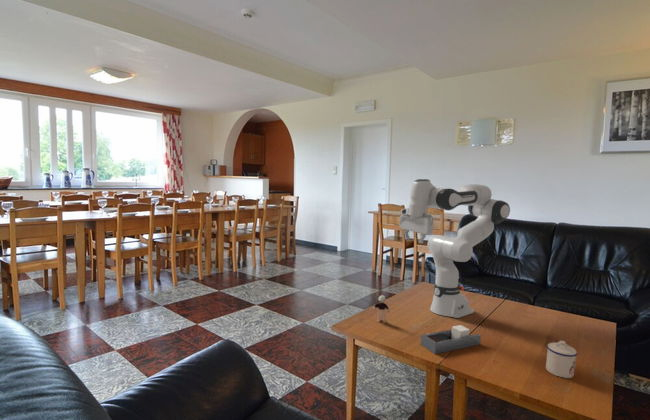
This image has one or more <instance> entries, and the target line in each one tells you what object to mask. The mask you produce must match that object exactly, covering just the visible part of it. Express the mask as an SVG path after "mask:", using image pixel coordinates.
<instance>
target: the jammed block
mask: <svg viewBox="0 0 650 420" xmlns="http://www.w3.org/2000/svg"><path fill="white" fill-rule="evenodd" d="M465 327H466V326H464V325H462V324H459V325H454V326H451V329H452V331H451V338H452V339H454V338H460V337H465V336H470V332H471V331H470V329H469V328H468V327H466V328H465Z"/></svg>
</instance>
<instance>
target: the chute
mask: <svg viewBox="0 0 650 420" xmlns="http://www.w3.org/2000/svg"><path fill="white" fill-rule="evenodd" d="M464 327H465V328H467V327H466V326H464ZM451 331H452V328H451V329H447V330H441V331H435V332H430V333H425V334H421V335H420V345H421V346H422V347H424V348H425V349H427V350H428V351H429V352H431V353H432V354H434V355H437V354H442V353H447V352H452V351H456V350H461V349H465V348H471V347H475V346H479V344H481V336H482V335H481V334H479V333H477V334H476V333H475V334H469V336H465V337H460V338H454V339H452V338H451Z"/></svg>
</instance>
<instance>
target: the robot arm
mask: <svg viewBox="0 0 650 420" xmlns="http://www.w3.org/2000/svg"><path fill="white" fill-rule="evenodd" d="M458 206H467V210H468V213H469V214H470V215H471V216H473V217H474V218H476V219H475V220H473V221H470V222H469V223H467V224H466V225H464V226H463V227H460V228H459V229H458V230H457V233H456V236H454V237H451V236H447V235H441V234H439V235H438V234H437V235H433V232H434V217H433V216H432V214H428V208H433V209H439V210H445V211H452V210H454V209H456V208H457V207H458ZM510 212H511V207H510V204H509V203H508V202H506V201H504V200H498V199H494V198H492V190H491V188H490V187H489V186H487V185H485V184H484V185H483V184H478V183H477V184H473V183H472V184H466V185H462V186H460V187H459V188H458V190H455V189H453V188H443V187H442V188H440V187H436V186H435V185H433V184H432V182H431V179H429V178H427V179H425V178H424V179H419V178H418V179H416V180H414V181H413V183H412V185H411V189H410V202H409V204H408V207H405V208H403V209H401V210H400V214H401V215H400V216H399V223H398V228H399V229H401V230H403V234H404V239H405V240H408V241H409V240H410V237H411V236H410V235H409V232H413V233H418V234H420V237H419V238H418V239H417V242H418V244H423V243H424V240H425V239H426V236H431V237H429V239H428V241H427V243H426V244H427V249H428V251H429V252H430V254H431V256H432V259H433V261H434V265H435V279H434V280H435V282H434V284H433V285H434V286H433V291H434V292H433V297H432V302H431V306H430V309H429V310H430V311H431V312H432V313H434V314H436V315H439V316H443V317H444V316H445V317H452V318H455V319H459V318H462V317H465V316H469V315H471V314H474V313H475V311H474V309H473V308H471V307H470V302H469V299H468V297H466V296H464V295H463V294H462V293H461V291H464V290H465V287H464V286H462V285H459V273H460V272H459V270H458V268H457V267H456V265H455V264H454V262H459V263H460V262H461V263H465V262H468V261H469V260H471V258H472V256H473V253H474V252H473V249H474V247H475V246H477V244H478V245H479V243H481V242H482V241H484V240H486V238H488V237H489V236H490V235H492V233H493V232H494V229H495V225H501V223H502V222H504V221H505V220H506V219H507V218H508V217H509V215H510Z"/></svg>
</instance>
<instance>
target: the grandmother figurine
mask: <svg viewBox="0 0 650 420" xmlns="http://www.w3.org/2000/svg"><path fill="white" fill-rule="evenodd" d="M377 300H378V301H379V302H377V303H375V305H374V306H373V308H372V309H373V310H374V311H375V310H376V309H377V323H381V324H382V323H383V324H385V323H388V322H387V315H386V311H387V313H390V308H389V306H388V305H387V304H386V303H385V302H386V296H385V295H383V294H382V295H379V297H378V299H377Z"/></svg>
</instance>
